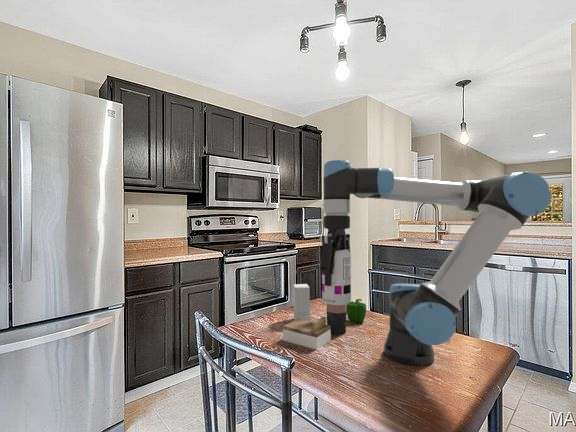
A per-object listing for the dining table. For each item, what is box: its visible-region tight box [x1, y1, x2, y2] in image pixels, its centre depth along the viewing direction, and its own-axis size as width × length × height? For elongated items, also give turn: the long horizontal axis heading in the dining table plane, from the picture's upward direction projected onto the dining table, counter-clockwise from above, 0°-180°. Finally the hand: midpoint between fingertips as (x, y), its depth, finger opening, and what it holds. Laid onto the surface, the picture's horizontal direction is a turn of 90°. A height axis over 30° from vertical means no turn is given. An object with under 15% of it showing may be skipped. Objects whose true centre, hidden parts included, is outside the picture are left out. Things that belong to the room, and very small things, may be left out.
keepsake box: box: [282, 328, 332, 350], centre depth 112 cm, size 14×10×4 cm
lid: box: [282, 316, 331, 336], centre depth 112 cm, size 14×10×4 cm
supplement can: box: [321, 249, 352, 305], centre depth 89 cm, size 8×8×15 cm
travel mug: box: [326, 303, 347, 336], centre depth 121 cm, size 8×8×20 cm
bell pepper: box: [346, 298, 367, 323], centre depth 134 cm, size 8×8×10 cm
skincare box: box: [292, 283, 311, 321], centre depth 134 cm, size 8×7×16 cm
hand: (336, 294), depth 89 cm, fingers closed on supplement can, 8 cm apart
